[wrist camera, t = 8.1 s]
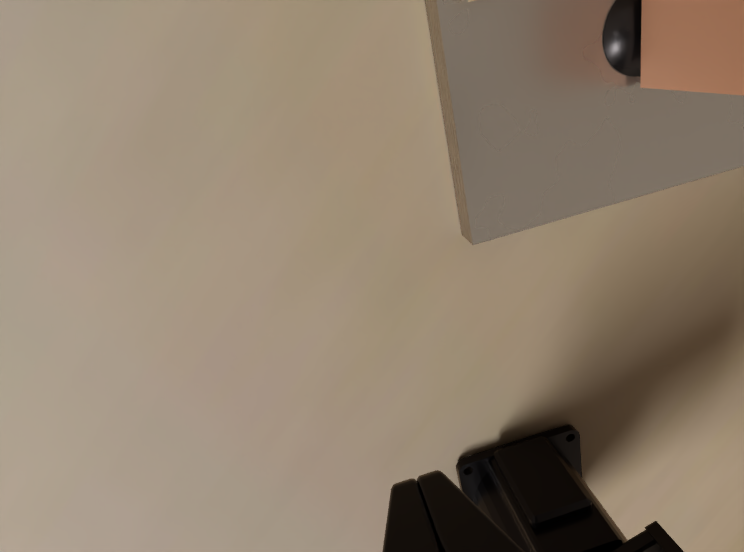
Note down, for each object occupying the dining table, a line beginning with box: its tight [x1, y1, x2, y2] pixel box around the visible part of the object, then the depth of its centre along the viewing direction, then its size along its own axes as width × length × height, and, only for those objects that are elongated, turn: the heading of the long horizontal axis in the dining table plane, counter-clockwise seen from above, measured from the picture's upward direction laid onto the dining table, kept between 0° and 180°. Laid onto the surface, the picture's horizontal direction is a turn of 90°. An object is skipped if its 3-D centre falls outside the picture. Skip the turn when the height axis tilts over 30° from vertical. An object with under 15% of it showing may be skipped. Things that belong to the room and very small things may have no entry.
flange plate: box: [425, 0, 744, 245], centre depth 17 cm, size 12×20×1 cm, turn 103°
